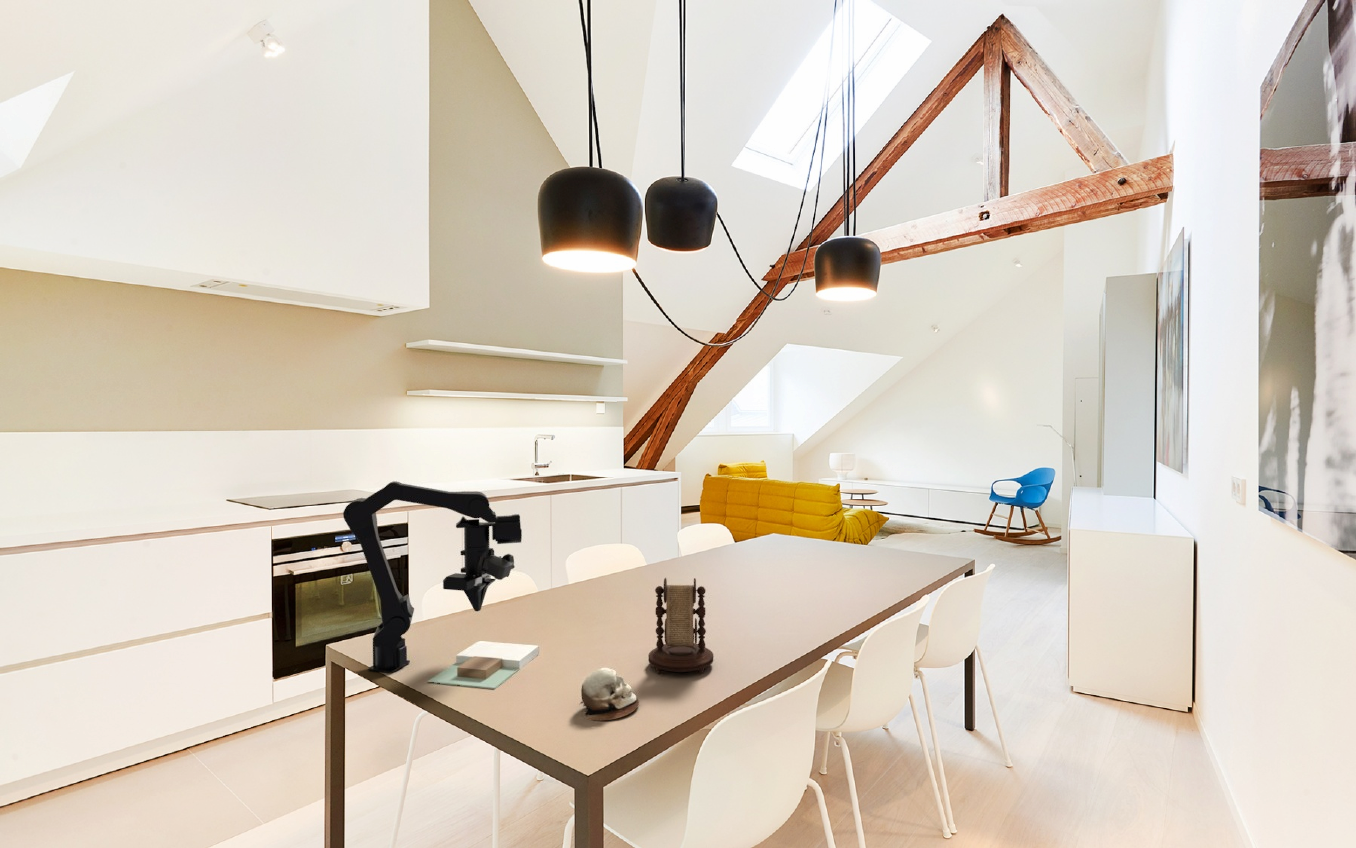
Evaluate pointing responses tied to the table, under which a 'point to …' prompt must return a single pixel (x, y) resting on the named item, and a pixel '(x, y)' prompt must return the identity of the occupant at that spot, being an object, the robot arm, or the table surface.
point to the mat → (491, 683)
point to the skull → (607, 696)
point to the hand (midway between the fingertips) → (477, 611)
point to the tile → (479, 667)
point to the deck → (501, 653)
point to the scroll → (680, 630)
